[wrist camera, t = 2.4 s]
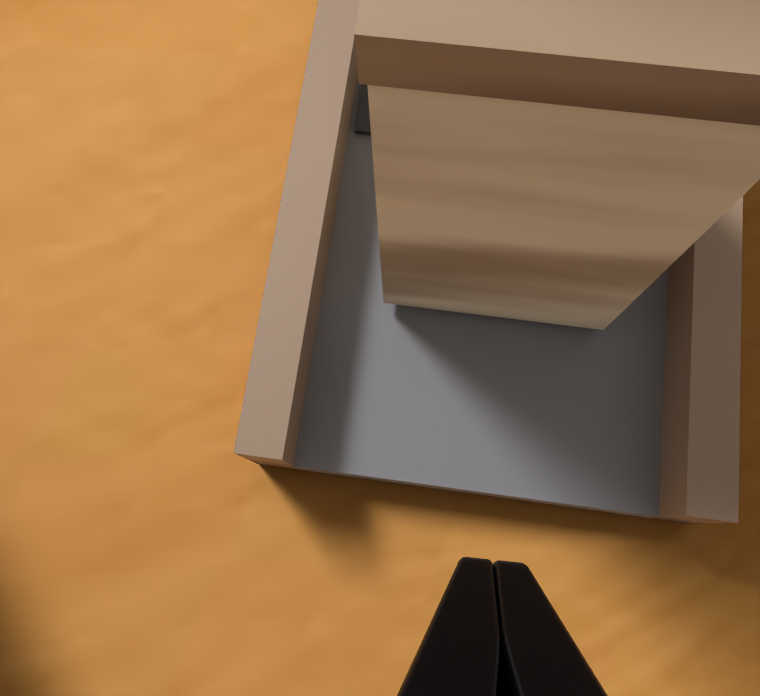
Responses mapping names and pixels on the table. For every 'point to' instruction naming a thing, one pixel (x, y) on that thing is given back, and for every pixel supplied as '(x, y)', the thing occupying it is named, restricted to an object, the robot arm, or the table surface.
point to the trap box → (481, 352)
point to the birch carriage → (553, 146)
